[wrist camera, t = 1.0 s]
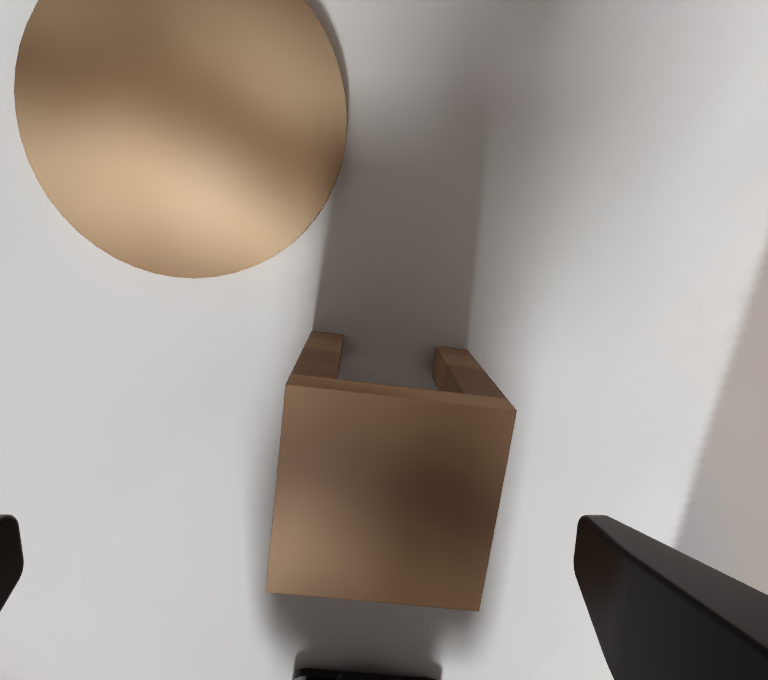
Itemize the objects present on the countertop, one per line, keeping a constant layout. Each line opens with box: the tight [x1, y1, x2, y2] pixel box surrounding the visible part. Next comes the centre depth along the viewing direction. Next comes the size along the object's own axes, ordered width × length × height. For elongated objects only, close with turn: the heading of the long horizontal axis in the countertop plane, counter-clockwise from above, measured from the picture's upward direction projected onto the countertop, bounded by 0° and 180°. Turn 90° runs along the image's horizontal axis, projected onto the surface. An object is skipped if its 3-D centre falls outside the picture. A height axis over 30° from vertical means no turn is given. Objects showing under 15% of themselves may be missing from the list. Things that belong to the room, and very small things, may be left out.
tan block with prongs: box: [266, 331, 517, 611], centre depth 18 cm, size 6×6×7 cm
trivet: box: [14, 0, 347, 278], centre depth 19 cm, size 11×11×1 cm
